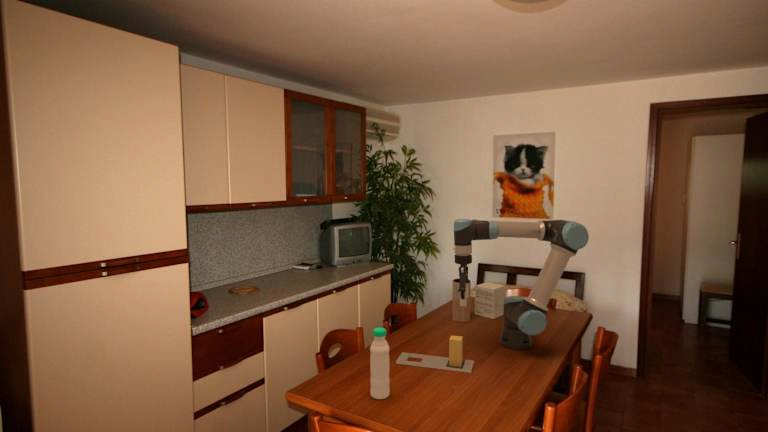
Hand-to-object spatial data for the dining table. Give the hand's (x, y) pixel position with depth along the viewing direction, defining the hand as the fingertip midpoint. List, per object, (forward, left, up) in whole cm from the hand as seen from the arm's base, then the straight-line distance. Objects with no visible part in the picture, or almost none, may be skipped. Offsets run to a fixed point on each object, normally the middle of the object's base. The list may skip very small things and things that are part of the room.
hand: (464, 301), depth 193 cm
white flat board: (+11, +10, -25) cm, 30 cm away
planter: (+8, -54, -26) cm, 60 cm away
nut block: (+2, +10, -25) cm, 27 cm away
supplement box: (-7, -69, -26) cm, 74 cm away
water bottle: (+25, +44, -26) cm, 57 cm away
